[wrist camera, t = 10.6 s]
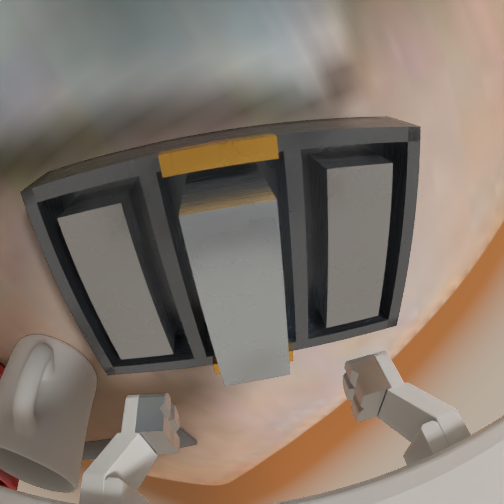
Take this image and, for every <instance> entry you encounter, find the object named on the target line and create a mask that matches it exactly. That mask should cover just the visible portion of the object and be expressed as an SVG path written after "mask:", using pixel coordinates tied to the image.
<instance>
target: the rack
mask: <svg viewBox="0 0 504 504" xmlns="http://www.w3.org/2000/svg"><path fill="white" fill-rule="evenodd" d="M419 157H420V126H417V125H414V124H410V123H407V122H404V121H401V120H398V119H394V118H391V117H354V118H334V119H319V120H306V121H294V122H284V123H275V124H266V125H258V126H250V127H243V128H236V129H229V130H222V131H216V132H210V133H204V134H199V135H193V136H188V137H182V138H177V139H172V140H167V141H162V142H158V143H153V144H149V145H144V146H140V147H136V148H131V149H127V150H123V151H119V152H115V153H111V154H107V155H104V156H100V157H96V158H93V159H89V160H86V161H82V162H79V163H75V164H72V165H69V166H65V167H62V168H59V169H56V170H53V171H50V172H47V173H46V174H44V175H43V176H42V177H40V178H39V179H38V180H36V181H35V182H33V183H32V184H31V185H29V186H28V187H27V188H25V189H24V190H23V191H21V195H22V198H23V201H24V204H25V207H26V210H27V213H28V215H29V218H30V221H31V224H32V226H33V229H34V231H35V234H36V237H37V239H38V242H39V244H40V246H41V249H42V251H43V254H44V256H45V258H46V261H47V263H48V265H49V267H50V270H51V272H52V274H53V276H54V278H55V281H56V283H57V285H58V287H59V289H60V291H61V293H62V295H63V297H64V299H65V301H66V303H67V305H68V307H69V309H70V311H71V313H72V315H73V317H74V319H75V320H76V322H77V324H78V326H79V328H80V330H81V331H82V333H83V335H84V337H85V338H86V340H87V342H88V344H89V345H90V347H91V349H92V350H93V352H94V354H95V355H96V357H97V359H98V360H99V362H100V364H101V365H102V367H103V368H104V370H105V372H106V373H107V375H116V374H130V373H142V372H153V371H163V370H172V369H181V368H189V367H197V366H205V365H212V364H213V366H214V369H215V372H216V374H221V372H220V369H219V366H218V362H217V359H216V356H215V352H214V349H213V346H212V342H211V339H210V335H209V332H208V328H207V325H206V321H205V318H204V314H203V311H202V307H201V303H200V300H199V296H198V292H197V288H196V285H195V281H194V277H193V273H192V269H191V265H190V262H189V258H188V254H187V250H186V245H185V241H184V237H183V233H182V229H181V225H180V220H179V211H180V206H181V201H182V196H183V191H184V186H185V181H186V176H187V173H190V172H195V171H201V170H207V169H212V168H218V167H224V166H231V165H237V164H244V163H251V162H256V164H257V166H258V168H259V169H260V171H261V173H262V175H263V176H264V178H265V180H266V182H267V183H268V185H269V187H270V189H271V190H272V192H273V194H274V196H275V198H276V199H277V207H278V218H279V229H280V241H281V253H282V265H283V278H284V291H285V305H286V319H287V334H288V349H289V362H290V361H293V351H294V350H298V349H303V348H308V347H313V346H317V345H322V344H326V343H330V342H335V341H339V340H343V339H347V338H351V337H355V336H359V335H363V334H367V333H371V332H375V331H378V330H382V329H386V328H389V327H393V326H396V325H397V321H398V316H399V312H400V307H401V302H402V297H403V292H404V287H405V281H406V276H407V270H408V264H409V257H410V251H411V244H412V236H413V228H414V220H415V211H416V201H417V189H418V175H419Z"/></svg>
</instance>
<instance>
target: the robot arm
mask: <svg viewBox="0 0 504 504" xmlns="http://www.w3.org/2000/svg"><path fill="white" fill-rule="evenodd" d="M345 370H346V373H345V374H344V375H343V387H344V391H345V394H346V397H347V399H349V400H350V401H352V406H351V410H352V412H353V415H354V417H355V420H356V422H359V421H363V420H366V419H370V418H373V417H376V416H378V418H379V419H381V420H382V421H383V422H385V423H386V424H388V425H389V426H390V427H391V428H393V429H394V430H395V431H397V432H398V433H399V434H401V435H402V436H403V437H405V438H406V439H407V440H409V441H410V442H411V444H410V446H409V447H408V449H407V450H406V452H405V454H404V455H403V456H404V459H405V461H406V464H407V466H405V467H402V468H400V469H397V470H395V471H392V472H389V473H386V474H384V475H381V476H378V477H375V478H372V479H369V480H366V481H363V482H360V483H357V484H353V485H350V486H347V487H343V488H340V489H336V490H333V491H328V492H325V493H321V494H316V495H313V496H308V497H303V498H299V499H294V500H288V501H283V502H278V503H272V504H504V416H502V417H501V418H499V419H498V420H496V421H494V422H493V423H491V424H489V425H488V426H486V427H484V428H483V429H481V430H479V431H478V432H476V433H474V434H472V435H470V433H469V431H468V429H467V427H466V425H465V424H464V422H463V420H462V418H461V417H460V415H459V413H458V411H457V410H456V409H455V408H454V407H451V406H450V405H448V404H446V403H444V402H443V401H441V400H439V399H437V398H435V397H433V396H432V395H430V394H428V393H426V392H424V391H422V390H420V389H419V388H417V387H415V386H413V385H412V384H410V383H404V382H403V380H402V378H401V376H400V375H399V373H398V371H397V369H396V367H395V366H394V364H393V362H392V360H391V359H390V357H389V355H388V353H387V352H385V351H382V352H379V353H376V354H372V355H367V356H364V357H360V358H357V359H353V360H350V361H346V363H345ZM179 428H180V423H179V414H178V411H177V408H176V406H175V404H173V403H171V397H170V395H169V394H168V393H157V394H137V395H127V397H126V399H125V406H124V413H123V420H122V428H121V433H117V434H116V435H115V436H114V438H113V439H112V440H111V441H110V442H109V444H108V445H107V446H106V447H105V448H104V450H103V451H102V452H101V453H100V454H99V455H98V457H97V458H96V459H95V460H94V461H93V463H92V464H91V465H90V466H89V467H88V469H87V470H86V471H85V472H84V473H83V477H82V485H81V493H80V502H79V504H149V501H148V499H146V498H145V497H144V496H142V495H141V494H140V493H138V492H137V489H138V488H139V486H140V485H141V483H142V481H143V480H144V478H145V477H146V475H147V473H148V472H149V470H150V468H151V467H152V465H153V463H154V462H155V460H156V459H157V457H158V455H161V454H175V453H180V438H179V436H178V435H177V433H176V432H177V430H178V429H179ZM0 504H74V503H68V502H62V501H57V500H53V499H48V498H44V497H39V496H35V495H31V494H27V493H24V492H20V491H16V490H13V489H9V488H6V487H3V486H0Z"/></svg>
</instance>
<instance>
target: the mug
mask: <svg viewBox="0 0 504 504" xmlns="http://www.w3.org/2000/svg"><path fill="white" fill-rule="evenodd" d="M96 387H97V376H96V373H95V371H94V368H93V367H92V365H91V364H90V362H89V361H88V360H87V359H86V358H85V357H84V356H83V355H82V354H81V353H80V352H79V351H77V350H76V349H75V348H73V347H72V346H70V345H68V344H67V343H65V342H63V341H61V340H58V339H56V338H53V337H50V336H46V335H37V334H35V335H28V336H25V337H23V338H21V339H20V340H19V341H18V342H17V344H16V345H15V347H14V349H13V351H12V354H11V356H10V358H9V361H8V363H7V365H6V368H5V370H4V372H3V374H2V377H1V379H0V469H2V470H3V471H5V472H7V473H8V474H10V475H12V476H14V477H16V478H18V479H20V480H22V481H24V482H27V483H29V484H32V485H34V486H37V487H40V488H43V489H47V490H51V491H56V492H63V493H69V492H74V491H75V490H76V489H77V487H78V482H79V476H80V469H81V462H82V456H83V450H84V444H85V438H86V433H87V427H88V422H89V417H90V413H91V408H92V404H93V400H94V396H95V392H96Z"/></svg>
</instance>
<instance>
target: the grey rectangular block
mask: <svg viewBox="0 0 504 504" xmlns="http://www.w3.org/2000/svg"><path fill="white" fill-rule="evenodd" d="M179 220H180V225H181V229H182V233H183V237H184V241H185V245H186V250H187V254H188V258H189V262H190V265H191V269H192V273H193V277H194V281H195V285H196V288H197V292H198V296H199V300H200V303H201V307H202V311H203V314H204V318H205V321H206V325H207V328H208V332H209V335H210V339H211V342H212V346H213V349H214V352H215V356H216V359H217V362H218V366H219V369H220V372H221V375H222V379H223V382H224V385H225V386H226V385H233V384H239V383H246V382H252V381H257V380H263V379H269V378H274V377H279V376H284V375H289V374H290V366H289V349H288V334H287V319H286V305H285V291H284V278H283V265H282V253H281V241H280V229H279V218H278V207H277V199H276V198H275V196H274V194H273V192H272V190H271V189H270V187H269V185H268V183H267V182H266V180H265V178H264V176H263V175H262V173H261V171H260V169H259V168H258V166H257V164H256V162H251V163H244V164H237V165H231V166H224V167H218V168H212V169H207V170H201V171H195V172H190V173H187V176H186V181H185V186H184V191H183V196H182V201H181V206H180V211H179Z"/></svg>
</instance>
